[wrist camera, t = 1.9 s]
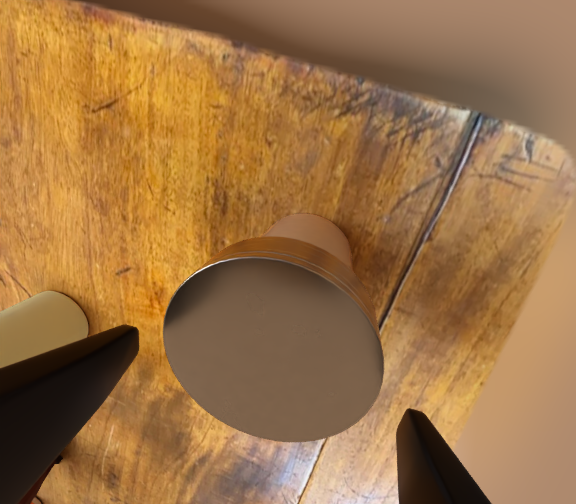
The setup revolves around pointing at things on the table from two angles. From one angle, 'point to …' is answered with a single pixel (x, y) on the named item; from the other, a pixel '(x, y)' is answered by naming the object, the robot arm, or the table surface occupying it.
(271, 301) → the jam lid
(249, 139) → the table surface
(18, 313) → the candle
